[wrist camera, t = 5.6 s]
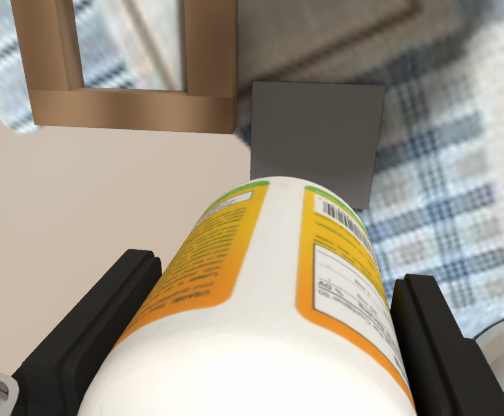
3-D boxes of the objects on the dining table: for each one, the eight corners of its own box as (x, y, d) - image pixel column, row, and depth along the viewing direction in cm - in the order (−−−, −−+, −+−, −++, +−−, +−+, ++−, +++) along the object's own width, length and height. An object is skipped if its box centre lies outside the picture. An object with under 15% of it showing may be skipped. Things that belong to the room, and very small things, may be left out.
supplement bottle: (193, 315, 14) (-39, 813, 5) (197, 161, 12) (-190, 537, 3) (354, 341, 13) (430, 964, 4) (389, 184, 11) (676, 754, 2)
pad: (383, 84, 25) (385, 86, 24) (366, 205, 28) (367, 209, 27) (253, 80, 26) (252, 81, 25) (251, 198, 29) (249, 201, 28)
